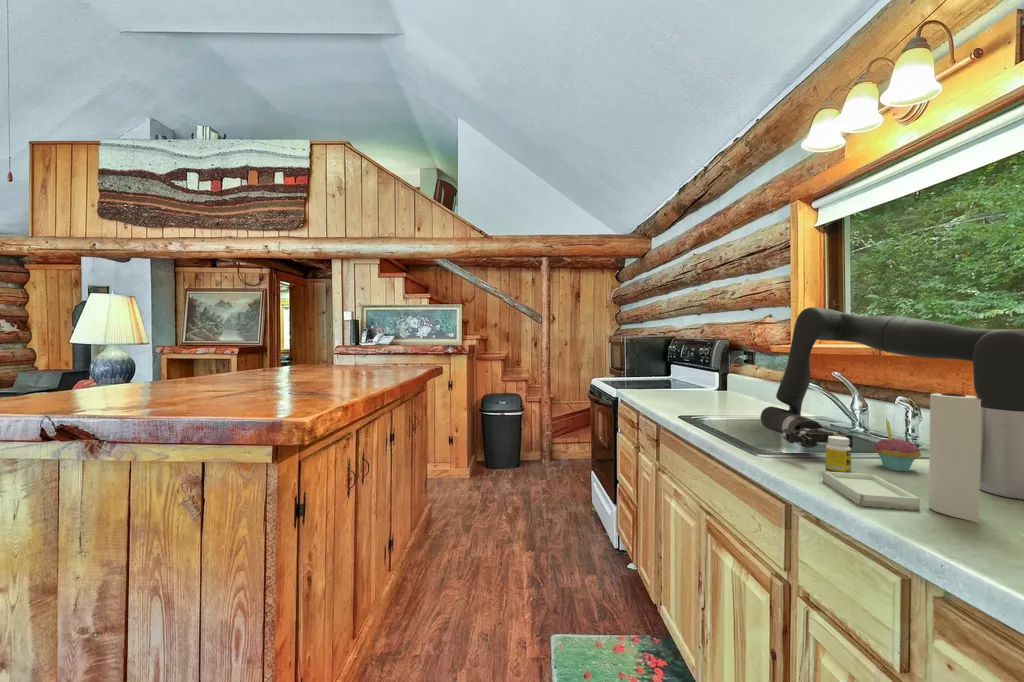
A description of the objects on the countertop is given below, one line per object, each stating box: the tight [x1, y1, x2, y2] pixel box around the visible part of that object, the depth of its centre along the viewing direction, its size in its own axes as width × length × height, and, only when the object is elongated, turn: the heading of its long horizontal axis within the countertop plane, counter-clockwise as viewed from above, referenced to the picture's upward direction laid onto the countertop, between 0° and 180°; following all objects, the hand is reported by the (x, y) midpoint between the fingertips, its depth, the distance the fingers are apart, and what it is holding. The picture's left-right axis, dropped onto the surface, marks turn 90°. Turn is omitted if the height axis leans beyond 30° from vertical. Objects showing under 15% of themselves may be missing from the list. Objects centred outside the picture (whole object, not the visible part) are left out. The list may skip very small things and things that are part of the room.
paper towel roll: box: [928, 392, 981, 524], centre depth 82 cm, size 7×6×21 cm
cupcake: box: [873, 417, 922, 472], centre depth 110 cm, size 9×8×12 cm
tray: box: [822, 470, 921, 512], centre depth 91 cm, size 10×15×2 cm, turn 168°
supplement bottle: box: [825, 436, 852, 473], centre depth 105 cm, size 5×5×8 cm
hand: (830, 443), depth 109 cm, fingers open, 8 cm apart
